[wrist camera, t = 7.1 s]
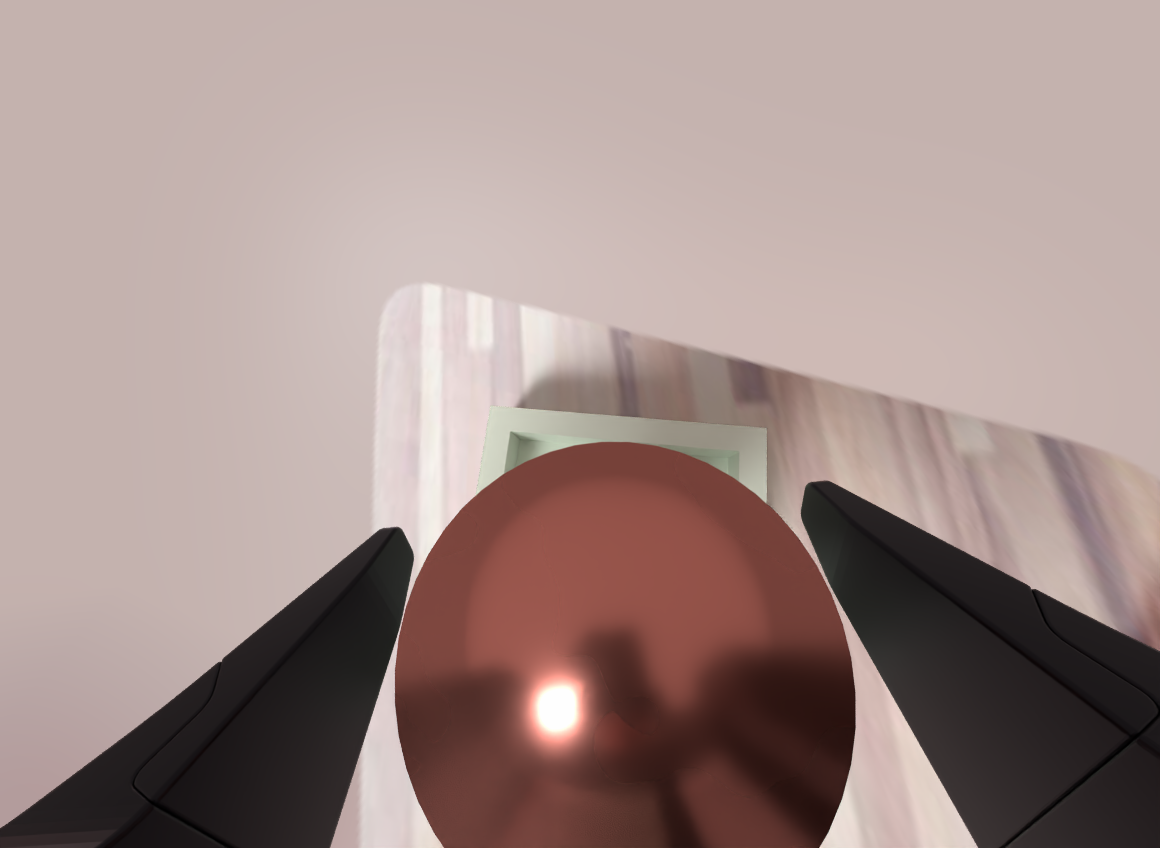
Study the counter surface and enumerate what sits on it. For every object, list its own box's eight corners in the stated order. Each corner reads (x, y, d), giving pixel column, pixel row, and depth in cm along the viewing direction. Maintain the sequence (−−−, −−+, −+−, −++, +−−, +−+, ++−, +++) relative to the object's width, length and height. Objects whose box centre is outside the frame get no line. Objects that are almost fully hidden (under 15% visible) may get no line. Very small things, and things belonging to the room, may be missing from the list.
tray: (742, 722, 16) (765, 758, 13) (466, 678, 17) (441, 703, 15) (747, 440, 18) (766, 427, 16) (506, 420, 19) (490, 405, 17)
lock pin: (687, 600, 16) (949, 862, 4) (575, 637, 16) (448, 1029, 4) (646, 488, 17) (740, 389, 5) (542, 522, 17) (360, 513, 5)
